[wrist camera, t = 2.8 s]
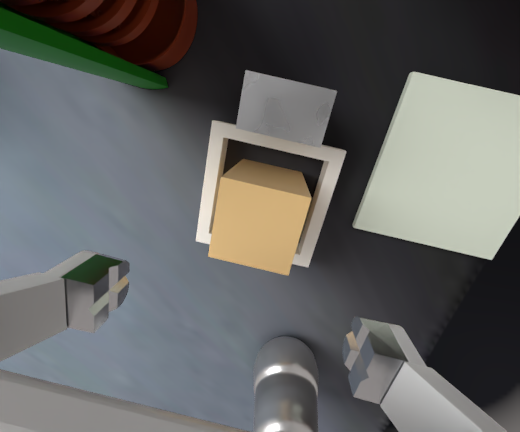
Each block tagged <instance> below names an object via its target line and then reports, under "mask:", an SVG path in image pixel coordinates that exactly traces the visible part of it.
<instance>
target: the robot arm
mask: <svg viewBox="0 0 520 432" xmlns="http://www.w3.org/2000/svg"><path fill="white" fill-rule="evenodd" d="M128 272H129V262H128V261H126V260H123V259H119V258H115V257H111V256H108V255H104V254H99V253H96V252H92V251H88V250H85V251H81V252H79V253H77V254H76V255H74V256H72V257H70V258H69V259H67V260H65V261H64V262H62V263H60V264H58V265H57V266H55V267H53V268H52V269H50V270H48V271H47V272H45V273H34V274H29V275H24V276H20V277H15V278H11V279H6V280H2V281H0V362H1V361H3V360H5V359H7V358H9V357H11V356H13V355H15V354H17V353H19V352H21V351H23V350H25V349H27V348H29V347H31V346H33V345H35V344H37V343H39V342H41V341H43V340H45V339H48V338H50V337H52V336H54V335H56V334H58V333H60V332H62V331H64V330H66V329H67V327H68V328H72V329H77V330H82V331H86V332H91V333H95V332H96V331H97V330H98V328H99V327H100V326H101V325H102V324H103V323H104V322H105V321H106V320H107V319H108V313H109V312H110V311H113V310H115V309H117V308H118V307H119V306H120V305H121V304H122V303H123V301H124V299H125V297H126V295H127V292H128V288H129V282H128V280H127V278H126V277H125V275H126V274H127V273H128ZM351 328H352V332H350V333H349V334H347V335H346V337H345V340H344V342H343V350H342V352H343V360H344V364H345V365H346V366H347V368H348V369H349V370H350V373H349V375H348V379H349V383H350V387H351V390H352V394H353V397H355V398H359V399H363V400H366V401H370V402H373V403H377V404H381V405H380V406H381V408H382V409H383V411H384V412H385V413H386V415H387V416H388V417H389V419H390V420H391V422H392V423H393V424H394V425H395V427H396V428H397V430H398V431H399V432H508V431H506V430H505V429H504V428H503V427H501V426H500V425H499V424H498V423H496V421H494V420H493V419H492V418H491V417H490V416H488V415H487V414H486V413H485V412H484V411H482V410H481V409H480V408H479V407H478V406H476V405H475V404H474V403H473V402H472V401H470V400H469V399H468V398H467V397H466V396H464V395H463V394H462V393H461V392H460V391H459V390H457V389H456V388H455V387H454V386H452V385H451V384H450V383H449V382H448V381H446V380H445V379H444V378H443V377H442V376H441V375H439V374H438V373H437V372H436V371H435V370H433V369H432V368H429V367H427V366H426V365H425V363H424V361H423V360H422V358H421V357H420V355H419V353H418V352H417V350H416V348H415V347H414V345H413V343H412V342H411V340H410V339H409V337H408V335H407V334H406V332H405V330H404V329H403V328H402V327H401V326H399V325H395V324H390V323H383V322H379V321H374V320H370V319H366V318H362V317H357V316H356V317H355V318H354V319H353V321H352V323H351ZM0 432H249V431H245V430H241V429H237V428H233V427H229V426H225V425H221V424H217V423H213V422H209V421H205V420H201V419H197V418H193V417H189V416H185V415H181V414H177V413H173V412H169V411H165V410H161V409H157V408H153V407H149V406H145V405H141V404H137V403H133V402H129V401H125V400H121V399H117V398H113V397H109V396H105V395H101V394H97V393H93V392H89V391H85V390H81V389H77V388H73V387H69V386H65V385H61V384H57V383H53V382H49V381H45V380H41V379H37V378H33V377H29V376H25V375H21V374H17V373H13V372H9V371H5V370H1V369H0Z"/></svg>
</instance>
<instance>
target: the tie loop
mask: <svg viewBox="0 0 520 432" xmlns="http://www.w3.org/2000/svg"><path fill="white" fill-rule="evenodd" d="M336 94H337V91H336V90H331V89H327V88H323V87H318V86H314V85H309V84H305V83H301V82H296V81H292V80H287V79H283V78H279V77H274V76H270V75H266V74H261V73H257V72H252V71H248V70H245V76H244V82H243V88H242V94H241V100H240V105H239V111H238V117H237V123H236V124H231V123H227V122H223V121H217V120H212V125H211V133H210V140H209V147H208V155H207V162H206V169H205V177H204V184H203V191H202V199H201V206H200V213H199V221H198V228H197V235H196V241H198V242H202V243H207V244H210V241H211V235H212V229H213V222H214V216H215V210H216V204H217V197H218V191H219V185H220V179H221V176H222V175H223V170H224V164H225V158H226V152H227V146H228V139H233V140H237V141H242V142H246V143H250V144H254V145H259V146H263V147H267V148H272V149H276V150H280V151H285V152H289V153H293V154H298V155H302V156H306V157H311V158H315V159H319V160H324V163H323V166H322V169H321V173H320V176H319V179H318V183H317V186H316V189H315V193H314V196H313V199H312V202H311V206H310V209H309V212H308V216H307V219H306V222H305V225H304V229H303V232H302V235H301V239H300V242H299V244H298V245H297V248H296V252H295V255H294V258H293V262H292V264H295V265H299V266H304V267H309V264H310V261H311V258H312V255H313V252H314V249H315V246H316V243H317V240H318V237H319V234H320V231H321V228H322V225H323V222H324V219H325V216H326V212H327V209H328V206H329V203H330V200H331V197H332V194H333V191H334V188H335V185H336V182H337V179H338V176H339V173H340V170H341V167H342V164H343V161H344V158H345V155H346V152H347V151H345V150H343V149H340V148H335V147H331V146H327V145H322V141H323V138H324V135H325V131H326V128H327V124H328V121H329V117H330V114H331V111H332V107H333V104H334V100H335V97H336Z"/></svg>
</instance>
